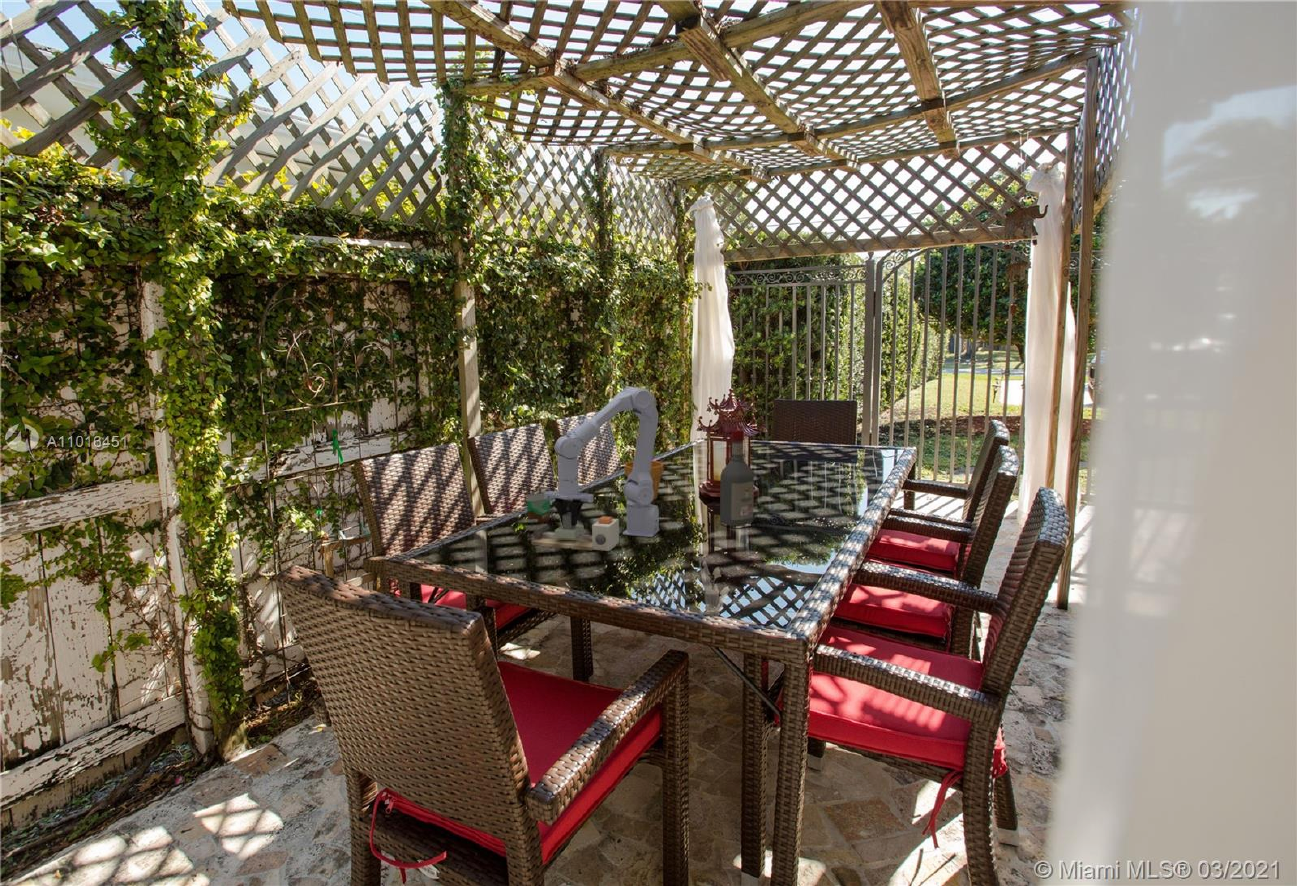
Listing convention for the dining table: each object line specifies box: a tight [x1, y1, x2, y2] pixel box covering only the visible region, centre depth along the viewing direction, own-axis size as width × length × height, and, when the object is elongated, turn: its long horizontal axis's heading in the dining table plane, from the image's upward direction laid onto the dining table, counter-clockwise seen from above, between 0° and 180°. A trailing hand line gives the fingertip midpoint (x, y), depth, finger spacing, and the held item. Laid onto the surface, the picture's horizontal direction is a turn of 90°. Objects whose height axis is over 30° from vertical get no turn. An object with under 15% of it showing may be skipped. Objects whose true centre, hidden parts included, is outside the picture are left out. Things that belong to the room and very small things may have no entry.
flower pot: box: [624, 460, 664, 501], centre depth 244 cm, size 14×14×13 cm
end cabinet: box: [591, 518, 620, 552], centre depth 189 cm, size 5×8×7 cm, turn 163°
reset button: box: [598, 515, 613, 524], centre depth 189 cm, size 3×3×2 cm
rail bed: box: [530, 523, 593, 551], centre depth 193 cm, size 19×10×4 cm, turn 73°
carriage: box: [554, 511, 585, 540], centre depth 193 cm, size 6×7×7 cm
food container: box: [525, 486, 551, 524], centre depth 216 cm, size 12×6×10 cm, turn 168°
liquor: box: [719, 429, 755, 526], centre depth 209 cm, size 9×9×30 cm
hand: (569, 524), depth 193 cm, fingers closed on carriage, 2 cm apart
